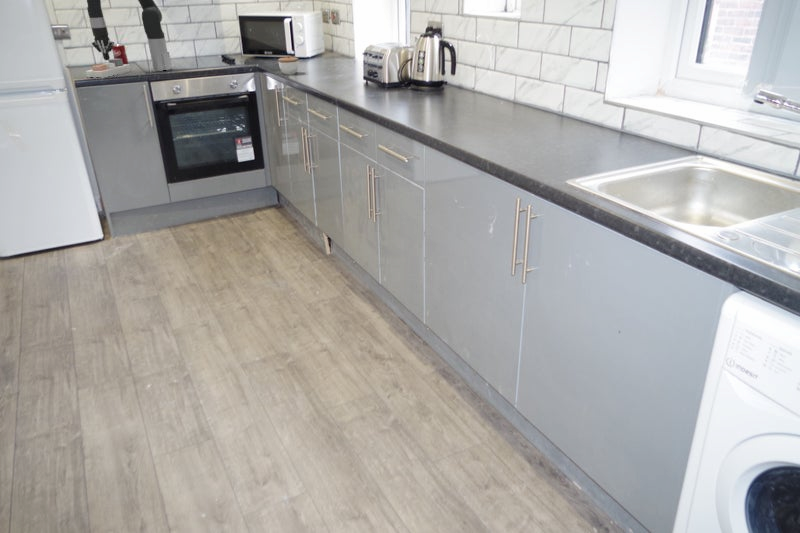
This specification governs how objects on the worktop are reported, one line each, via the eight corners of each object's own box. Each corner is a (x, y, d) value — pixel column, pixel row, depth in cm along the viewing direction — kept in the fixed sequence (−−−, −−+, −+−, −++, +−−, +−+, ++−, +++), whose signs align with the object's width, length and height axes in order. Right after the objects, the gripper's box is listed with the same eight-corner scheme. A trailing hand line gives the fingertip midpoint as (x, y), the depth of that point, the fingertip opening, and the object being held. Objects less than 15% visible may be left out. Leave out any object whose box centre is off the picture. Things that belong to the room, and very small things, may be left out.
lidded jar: (275, 74, 323) (273, 56, 319) (287, 71, 331) (286, 53, 327) (291, 75, 318) (289, 57, 314) (303, 72, 327) (302, 54, 322)
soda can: (120, 67, 356) (115, 46, 351) (113, 66, 360) (108, 45, 355) (131, 65, 361) (126, 44, 356) (124, 64, 365) (120, 44, 360)
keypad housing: (131, 70, 344) (130, 64, 343) (103, 78, 323) (101, 71, 322) (116, 70, 346) (114, 64, 345) (87, 77, 326) (85, 71, 324)
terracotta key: (107, 72, 330) (106, 65, 328) (101, 74, 325) (99, 66, 324) (100, 72, 331) (98, 64, 329) (93, 74, 327) (91, 66, 325)
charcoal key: (123, 66, 341) (121, 58, 339) (117, 67, 337) (116, 60, 335) (115, 65, 342) (114, 58, 340) (110, 67, 338) (108, 59, 336)
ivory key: (116, 70, 336) (114, 63, 334) (110, 72, 331) (108, 64, 330) (108, 70, 337) (106, 63, 335) (102, 71, 333) (100, 64, 331)
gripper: (113, 25, 325) (121, 59, 333) (92, 25, 328) (101, 59, 336) (104, 27, 318) (113, 61, 326) (83, 27, 321) (92, 61, 329)
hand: (107, 60), depth 331 cm, fingers closed
